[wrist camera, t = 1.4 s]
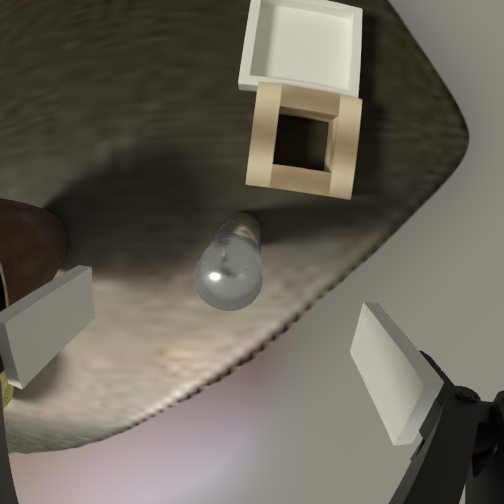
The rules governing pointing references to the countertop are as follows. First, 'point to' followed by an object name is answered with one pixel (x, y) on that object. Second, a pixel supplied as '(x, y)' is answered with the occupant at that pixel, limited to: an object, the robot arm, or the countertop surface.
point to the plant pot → (28, 249)
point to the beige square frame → (313, 107)
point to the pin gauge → (231, 264)
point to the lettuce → (6, 389)
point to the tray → (303, 46)
